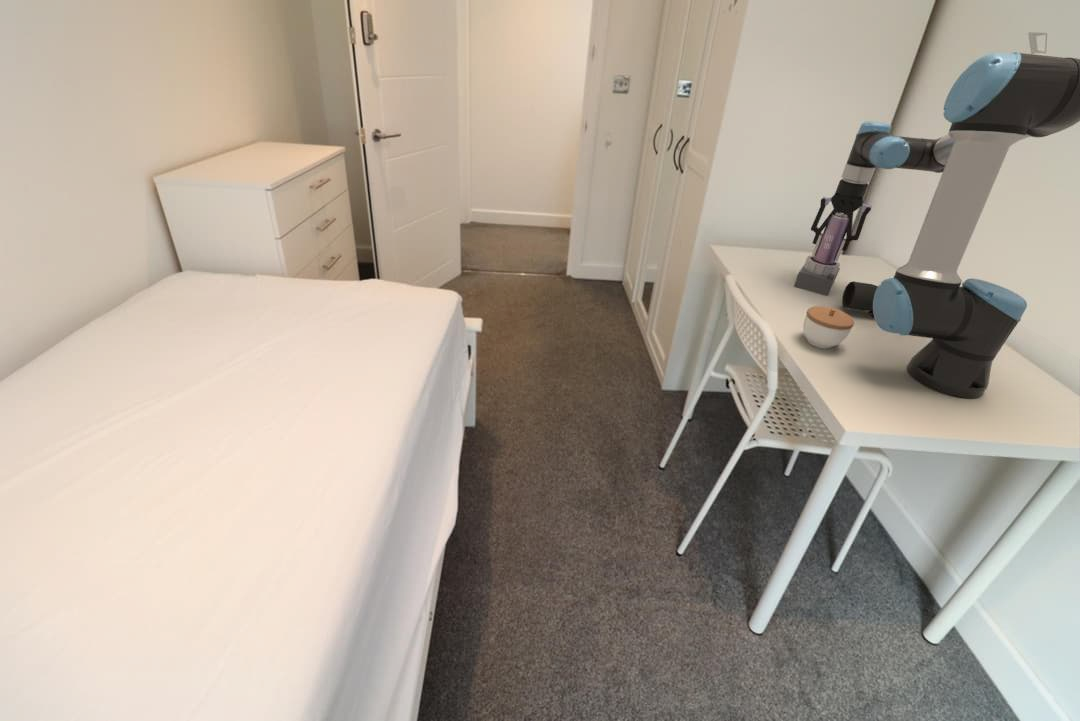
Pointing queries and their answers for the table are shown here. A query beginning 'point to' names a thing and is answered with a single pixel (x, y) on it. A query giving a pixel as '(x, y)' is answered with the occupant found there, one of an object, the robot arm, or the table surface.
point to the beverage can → (831, 239)
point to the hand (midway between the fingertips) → (825, 257)
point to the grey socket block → (817, 276)
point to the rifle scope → (859, 296)
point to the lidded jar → (826, 326)
